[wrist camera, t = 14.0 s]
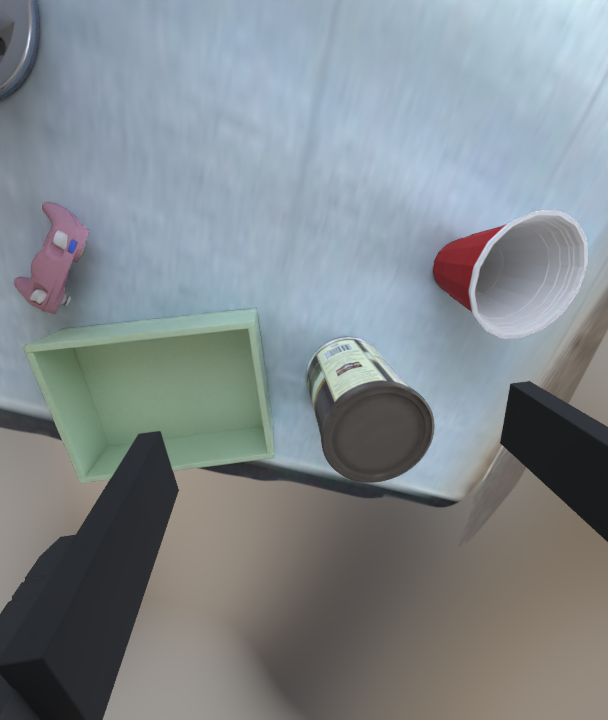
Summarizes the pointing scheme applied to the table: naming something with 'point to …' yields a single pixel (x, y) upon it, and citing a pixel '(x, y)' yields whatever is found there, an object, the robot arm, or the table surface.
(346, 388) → the coffee can
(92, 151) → the table surface
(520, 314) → the plastic cup
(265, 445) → the bin
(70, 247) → the video game controller
